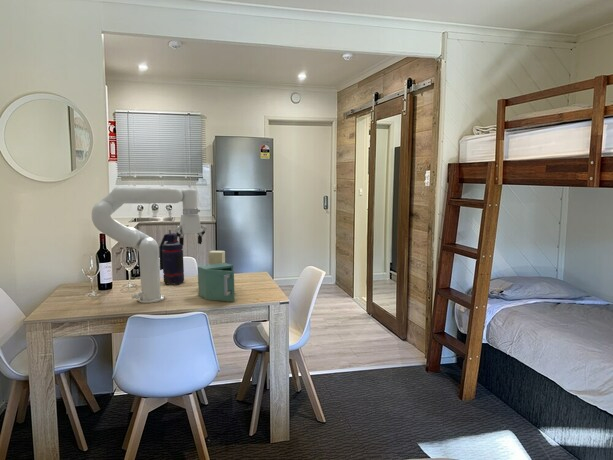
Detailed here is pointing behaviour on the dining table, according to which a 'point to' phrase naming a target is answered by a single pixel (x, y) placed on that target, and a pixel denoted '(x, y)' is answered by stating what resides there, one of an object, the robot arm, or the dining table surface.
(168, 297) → the dining table surface
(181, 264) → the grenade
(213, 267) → the cooler
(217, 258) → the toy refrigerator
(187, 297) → the dining table surface
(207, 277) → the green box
